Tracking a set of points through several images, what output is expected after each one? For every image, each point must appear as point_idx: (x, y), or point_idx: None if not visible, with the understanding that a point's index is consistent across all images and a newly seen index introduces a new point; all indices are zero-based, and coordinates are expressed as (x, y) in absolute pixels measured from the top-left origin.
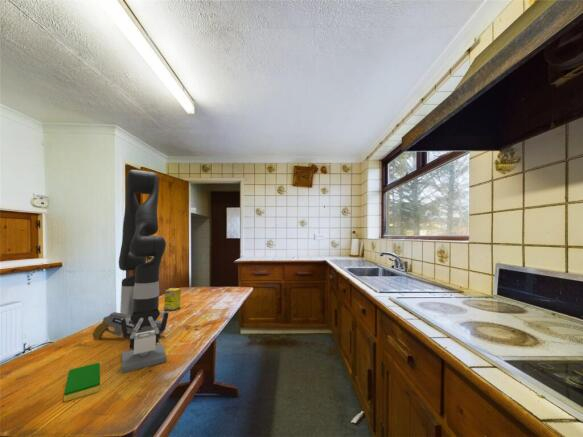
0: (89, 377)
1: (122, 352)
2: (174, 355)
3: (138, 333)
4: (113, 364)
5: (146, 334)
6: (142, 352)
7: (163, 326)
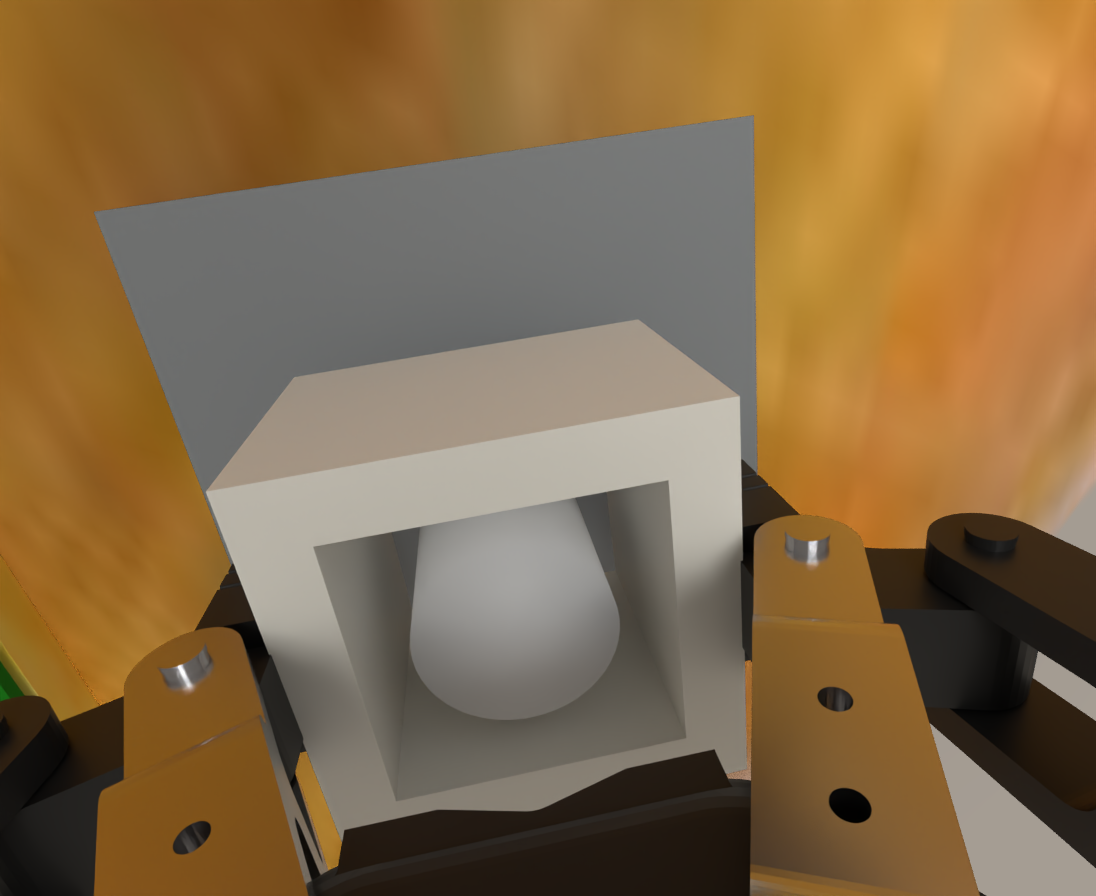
0: None
1: (109, 250)
2: (838, 471)
3: (336, 515)
4: (112, 447)
5: (548, 570)
6: None
7: (1020, 761)
